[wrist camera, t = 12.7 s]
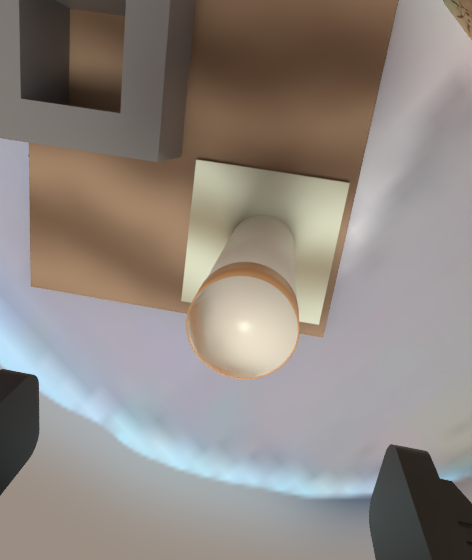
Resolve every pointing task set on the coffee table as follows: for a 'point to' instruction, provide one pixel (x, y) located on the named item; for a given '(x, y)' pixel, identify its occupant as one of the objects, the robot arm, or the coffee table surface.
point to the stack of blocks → (462, 13)
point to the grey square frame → (135, 78)
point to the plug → (248, 302)
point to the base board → (216, 153)
